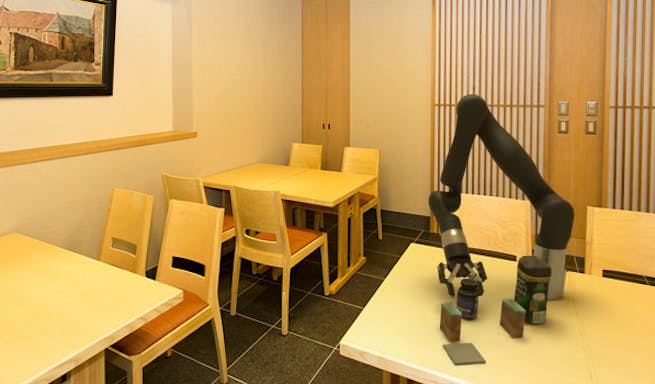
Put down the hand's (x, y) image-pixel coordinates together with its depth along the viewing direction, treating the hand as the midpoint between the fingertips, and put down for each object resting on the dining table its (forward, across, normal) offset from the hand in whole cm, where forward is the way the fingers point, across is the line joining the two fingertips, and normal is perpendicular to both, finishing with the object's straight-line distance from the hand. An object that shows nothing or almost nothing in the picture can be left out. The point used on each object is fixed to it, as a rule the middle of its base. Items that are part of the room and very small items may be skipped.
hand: (467, 296), depth 128 cm
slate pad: (+18, -9, -9) cm, 22 cm away
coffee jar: (+7, +18, +2) cm, 20 cm away
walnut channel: (+11, 0, -2) cm, 12 cm away
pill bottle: (+5, 0, +5) cm, 7 cm away
